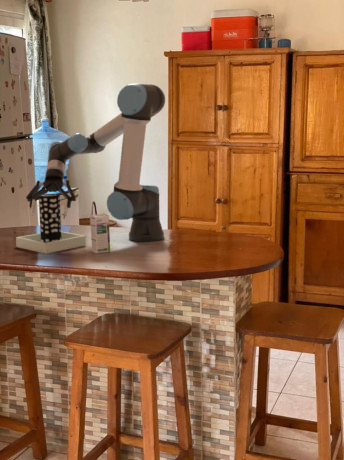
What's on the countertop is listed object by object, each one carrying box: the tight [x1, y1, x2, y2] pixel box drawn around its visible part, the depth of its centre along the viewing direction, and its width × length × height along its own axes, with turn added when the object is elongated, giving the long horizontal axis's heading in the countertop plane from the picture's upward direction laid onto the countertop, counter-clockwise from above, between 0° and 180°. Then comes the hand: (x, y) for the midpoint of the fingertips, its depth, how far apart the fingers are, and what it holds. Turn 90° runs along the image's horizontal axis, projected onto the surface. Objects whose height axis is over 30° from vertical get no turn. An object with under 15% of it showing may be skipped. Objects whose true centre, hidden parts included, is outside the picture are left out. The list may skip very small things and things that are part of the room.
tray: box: [15, 230, 87, 255], centre depth 264 cm, size 20×20×4 cm
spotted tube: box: [38, 193, 62, 243], centre depth 262 cm, size 8×8×20 cm
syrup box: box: [89, 213, 111, 254], centre depth 251 cm, size 6×6×14 cm
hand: (48, 214), depth 261 cm, fingers open, 13 cm apart
